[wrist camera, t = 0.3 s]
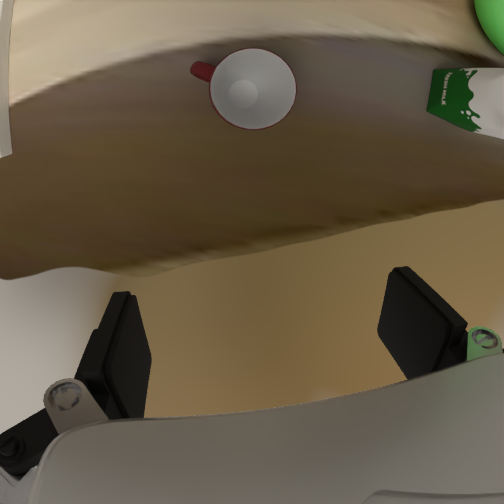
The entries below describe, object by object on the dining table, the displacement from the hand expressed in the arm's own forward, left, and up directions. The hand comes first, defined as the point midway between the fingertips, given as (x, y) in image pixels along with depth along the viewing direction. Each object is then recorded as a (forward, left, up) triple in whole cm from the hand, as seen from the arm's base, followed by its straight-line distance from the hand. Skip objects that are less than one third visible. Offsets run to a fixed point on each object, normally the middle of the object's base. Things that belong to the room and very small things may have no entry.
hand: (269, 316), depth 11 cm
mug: (-10, +1, -31) cm, 32 cm away
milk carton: (-12, +33, -31) cm, 47 cm away
